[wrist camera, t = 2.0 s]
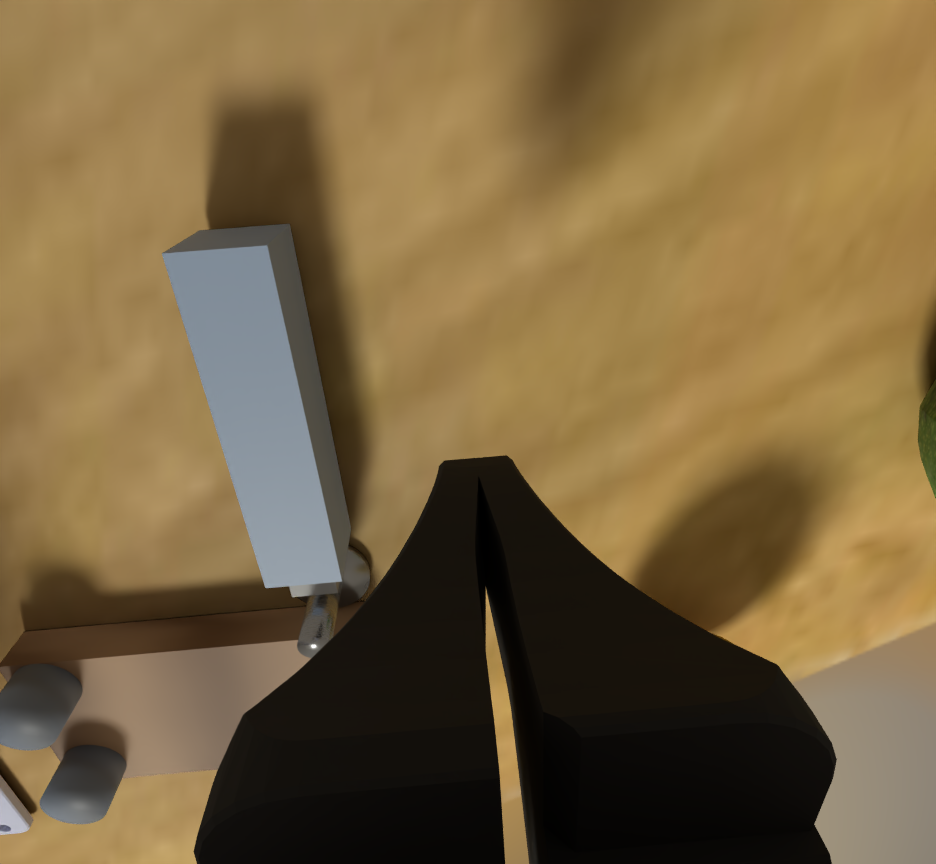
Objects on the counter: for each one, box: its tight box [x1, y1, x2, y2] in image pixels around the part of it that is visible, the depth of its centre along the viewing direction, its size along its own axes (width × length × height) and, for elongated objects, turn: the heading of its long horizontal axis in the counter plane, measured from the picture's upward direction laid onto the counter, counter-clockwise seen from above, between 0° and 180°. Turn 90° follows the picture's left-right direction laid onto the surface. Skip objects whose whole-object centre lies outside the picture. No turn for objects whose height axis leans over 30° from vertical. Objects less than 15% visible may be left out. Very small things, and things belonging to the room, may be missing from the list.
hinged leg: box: [162, 224, 351, 597], centre depth 16 cm, size 11×2×2 cm, turn 4°
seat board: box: [0, 601, 365, 824], centre depth 22 cm, size 12×7×3 cm, turn 94°
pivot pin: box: [297, 545, 370, 658], centre depth 19 cm, size 3×3×3 cm
